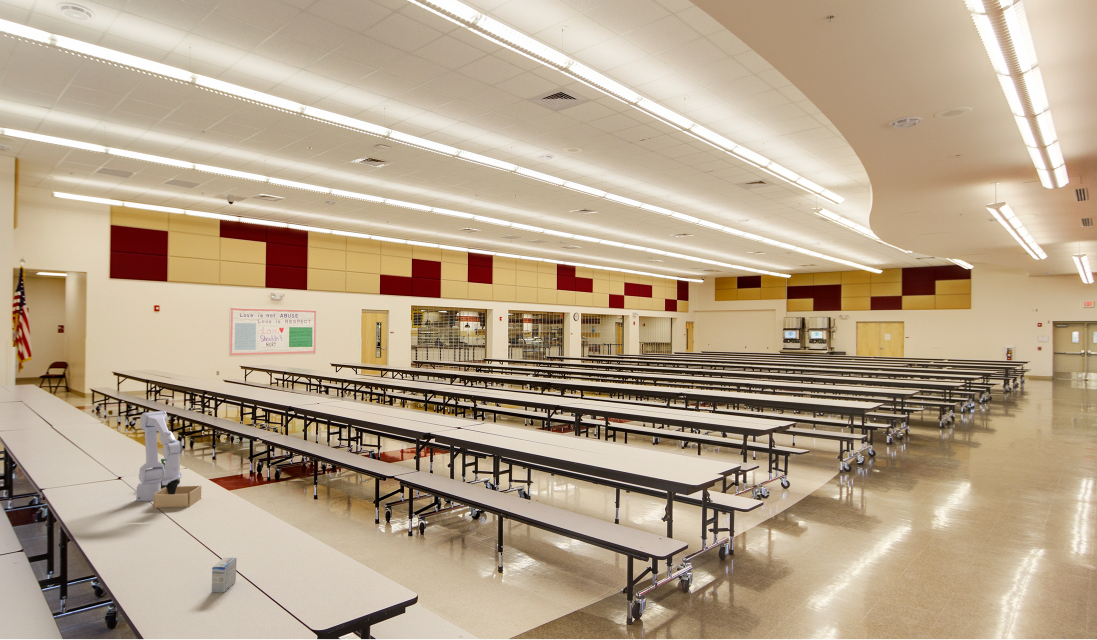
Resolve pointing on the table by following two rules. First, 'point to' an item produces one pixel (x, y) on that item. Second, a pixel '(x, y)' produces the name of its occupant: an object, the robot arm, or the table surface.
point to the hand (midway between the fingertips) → (171, 496)
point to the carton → (192, 492)
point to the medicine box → (223, 575)
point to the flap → (171, 500)
